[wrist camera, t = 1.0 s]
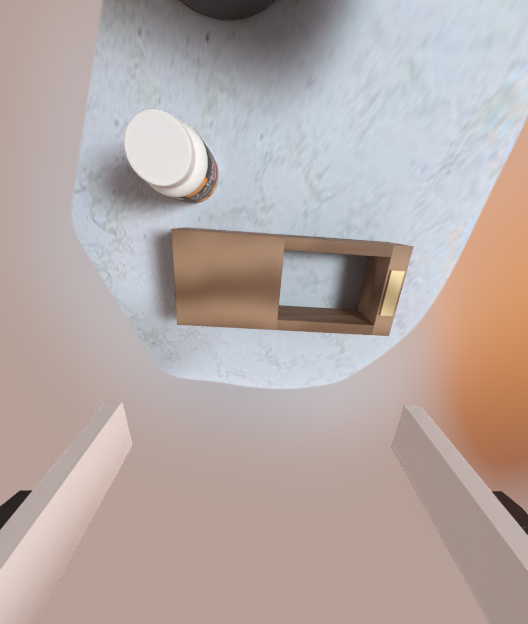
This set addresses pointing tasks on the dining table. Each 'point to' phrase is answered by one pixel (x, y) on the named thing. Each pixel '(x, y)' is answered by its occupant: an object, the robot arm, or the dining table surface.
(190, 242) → the brown wooden open box
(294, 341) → the dining table surface
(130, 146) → the pill bottle
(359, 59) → the dining table surface
